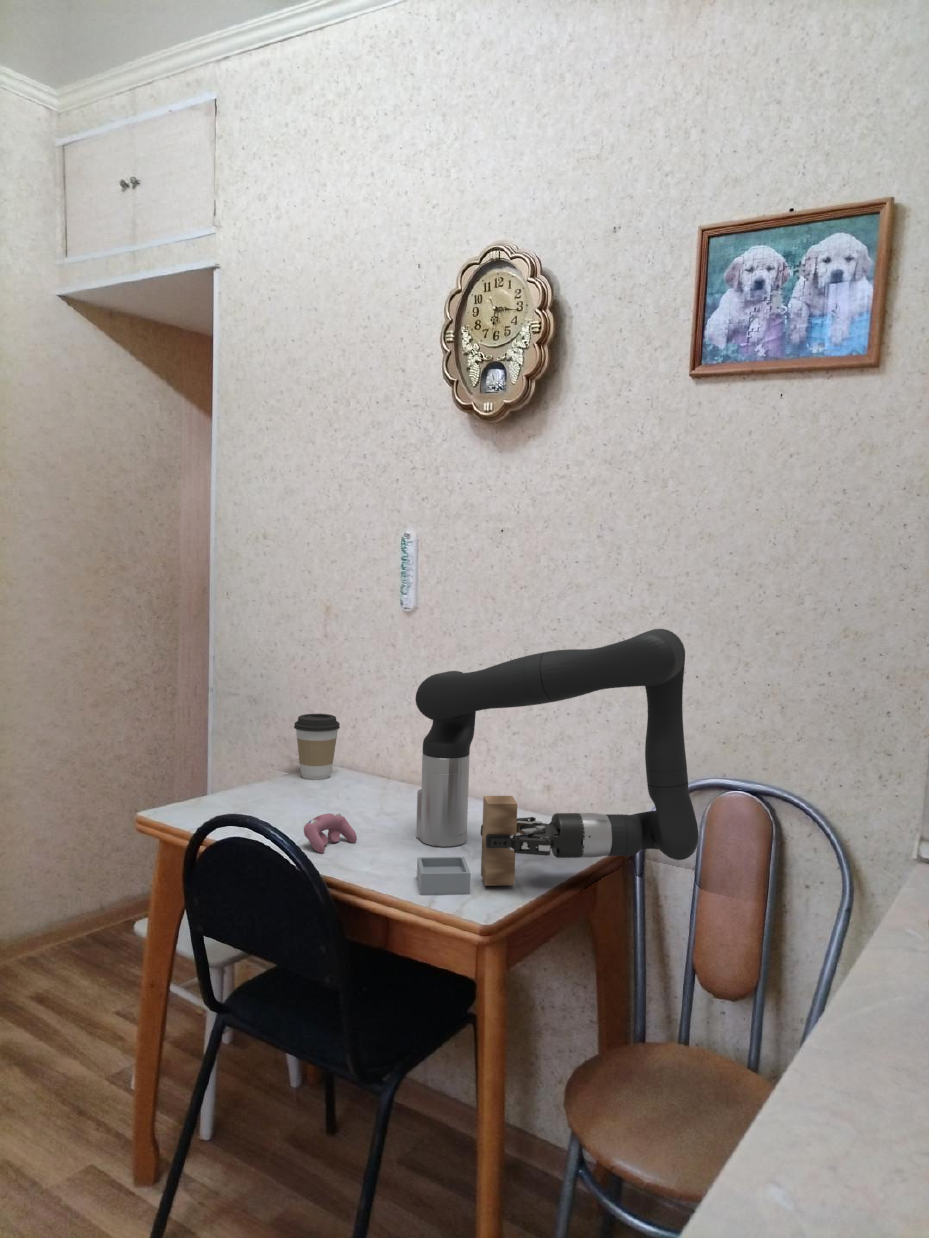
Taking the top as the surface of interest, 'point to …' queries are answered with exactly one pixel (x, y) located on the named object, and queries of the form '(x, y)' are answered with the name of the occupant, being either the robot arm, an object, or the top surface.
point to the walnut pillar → (498, 821)
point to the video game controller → (333, 825)
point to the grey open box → (443, 875)
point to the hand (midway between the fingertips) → (483, 835)
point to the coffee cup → (316, 744)
